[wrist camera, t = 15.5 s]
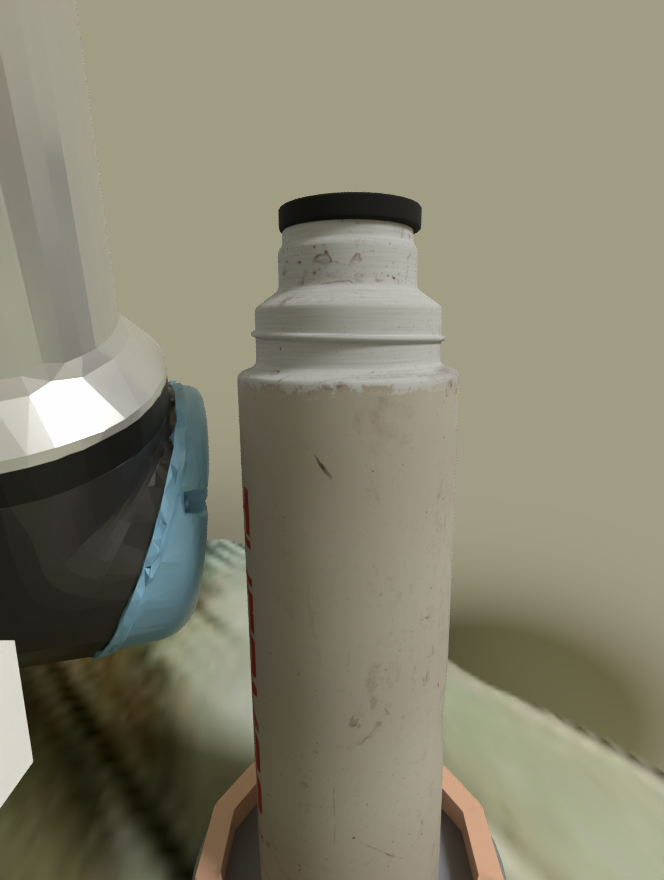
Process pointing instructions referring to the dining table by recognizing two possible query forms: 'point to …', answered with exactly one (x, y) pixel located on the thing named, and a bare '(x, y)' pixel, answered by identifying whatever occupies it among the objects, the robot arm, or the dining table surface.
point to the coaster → (237, 836)
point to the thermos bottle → (348, 545)
